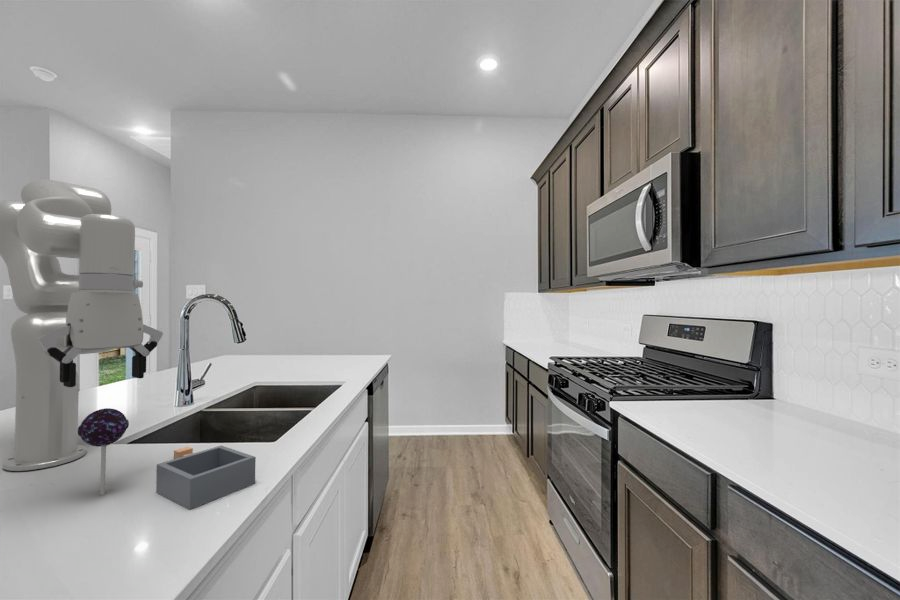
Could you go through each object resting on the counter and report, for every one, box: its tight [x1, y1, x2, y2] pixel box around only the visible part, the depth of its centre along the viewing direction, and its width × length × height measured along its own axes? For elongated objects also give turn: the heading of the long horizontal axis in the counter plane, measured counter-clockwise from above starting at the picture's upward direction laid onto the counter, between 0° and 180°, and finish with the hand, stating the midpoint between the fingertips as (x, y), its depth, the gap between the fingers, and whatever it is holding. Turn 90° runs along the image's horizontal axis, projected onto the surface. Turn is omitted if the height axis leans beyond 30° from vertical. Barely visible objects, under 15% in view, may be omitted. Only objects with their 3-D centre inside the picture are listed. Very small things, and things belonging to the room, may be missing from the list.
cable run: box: [173, 446, 195, 459], centre depth 83 cm, size 16×4×2 cm, turn 43°
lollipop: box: [78, 407, 130, 496], centre depth 71 cm, size 7×7×15 cm
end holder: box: [155, 445, 256, 511], centre depth 74 cm, size 12×12×5 cm
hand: (105, 381), depth 71 cm, fingers open, 9 cm apart
